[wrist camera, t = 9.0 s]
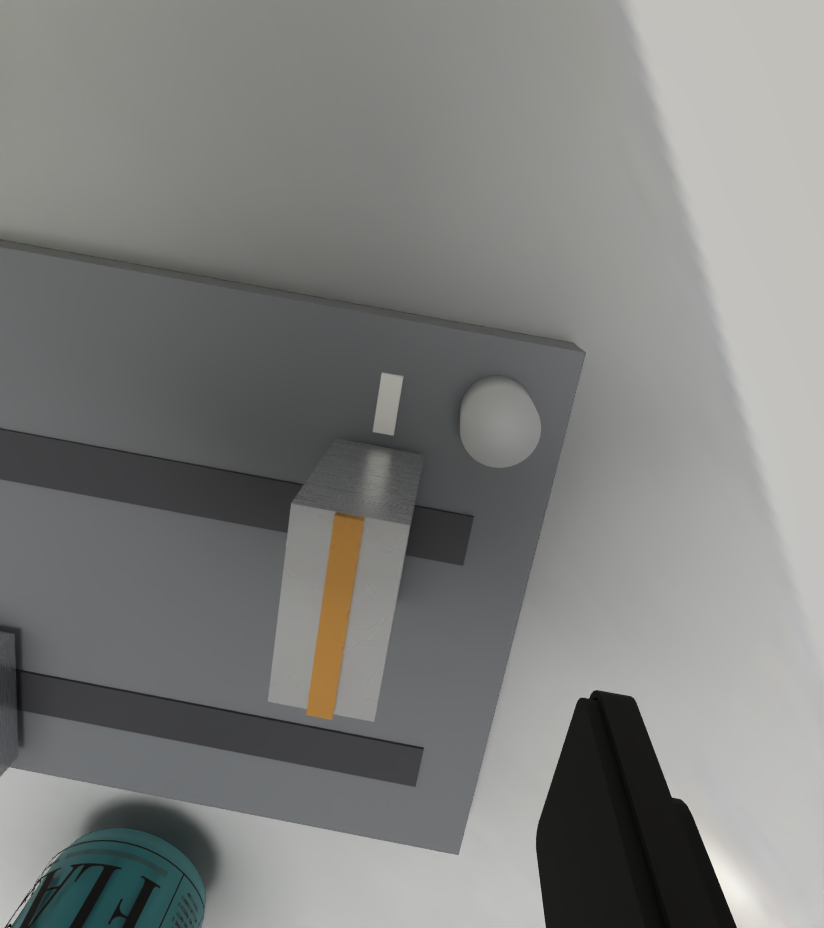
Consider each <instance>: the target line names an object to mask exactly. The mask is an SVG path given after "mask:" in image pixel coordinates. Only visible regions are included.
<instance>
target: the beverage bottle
mask: <svg viewBox="0 0 824 928" xmlns="http://www.w3.org/2000/svg"><path fill="white" fill-rule="evenodd" d="M64 850H65V851H64ZM64 850H63V851H64V852H63V851H61V852H63V853H62V854H60V856H59V857H58V858H57V859H56V860H55V862H53V863H51V864H53V865H51V864H50V865H49V867H50V866H51V868H50V869H49V871H48V872H47V874H46V875H44V876H43V877H44V878H43V877H42V876H41V879H42V878H43V880H42V881H41V879H39V880H38V879H37V880H38V881H36V883H37V884H38V883H39V881H40V884H39V886H38V887H37V889H36V890H35V892H34V893H31V892H32V891H31V892H30V891H29V892H30V893H31V898H30V899H29V901H28V902H27V904H26V905H25V907H24V908H23V910H22V911H21V913H20V914H19V916H18V917H17V919H16V920H15V922H14V923H13V925H12V926H11V924H9V922H10V921H11V919H12V918H11V919H10V921H9V922H8V924H9V926H8V924H7V925H6V927H7V926H8V927H10V928H201V926H202V923H203V920H204V912H205V903H206V893H205V887H204V884H203V881H202V878H201V876H200V874H199V873H198V871H197V869H196V868H195V866H194V865H193V864H192V862H191V861H190V860H189V859H188V858H187V857H186V856H185V855H184V854H183V853H182V852H181V851H179V850H178V849H177V848H175V847H174V846H173V845H171V844H170V843H168V842H166V841H165V840H163V839H161V838H159V837H157V836H154V835H152V834H149V833H146V832H142V831H138V830H133V829H126V828H108V829H102V830H97V831H94V832H91V833H88V834H86V835H84V836H82V837H80V838H79V839H77V840H76V841H75V842H74V843H72V844H71V845H70V846H69V847H68V848H66V849H64ZM61 852H59V853H61ZM59 853H58V854H59ZM58 854H57V855H58ZM57 855H56V856H57ZM53 858H54V857H53ZM53 858H52V859H53ZM48 864H49V863H48ZM49 867H48V868H49ZM48 868H47V869H48ZM45 870H46V869H45ZM43 872H44V871H43ZM43 872H42V875H43ZM39 877H40V876H39ZM36 883H35V885H34V886H36V885H37V884H36ZM34 889H35V887H33V889H32V890H34ZM30 893H28V894H30ZM28 894H27V896H26V897H25V899H24V900H23V901H22V903H21V904H20V906H21V905H22V904H23V902H24V901H26V899H27V897H28V896H29V895H28ZM24 903H25V902H24ZM20 906H19V907H20ZM19 907H18V909H19ZM18 909H17V910H18ZM17 910H16V912H17ZM16 912H15V913H16ZM15 913H14V915H15ZM14 915H13V916H14ZM13 916H12V917H13ZM6 927H5V928H6ZM8 927H7V928H8Z"/></svg>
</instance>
